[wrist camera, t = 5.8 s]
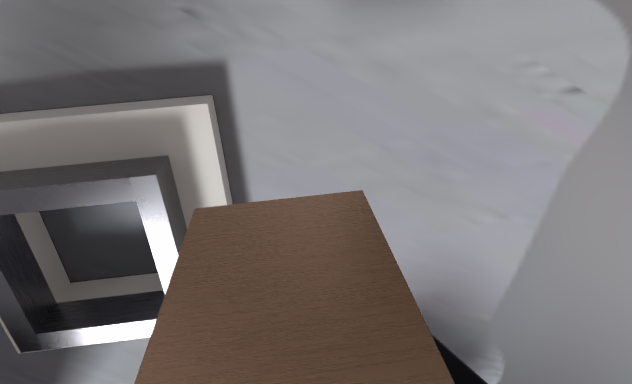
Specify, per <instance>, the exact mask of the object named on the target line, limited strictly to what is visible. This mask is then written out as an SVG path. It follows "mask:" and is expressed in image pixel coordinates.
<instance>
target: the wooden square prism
mask: <svg viewBox="0 0 632 384" xmlns="http://www.w3.org/2000/svg"><path fill="white" fill-rule="evenodd" d="M134 384H455V383H454V381H453V379H452V377H451V375H450V373H449V371H448V368H447V366H446V364H445V362H444V360H443V358H442V356H441V354H440V352H439V350H438V348H437V345H436V343H435V341H434V339H433V337H432V335H431V333H430V331H429V329H428V327H427V325H426V322H425V320H424V318H423V316H422V314H421V312H420V310H419V308H418V306H417V304H416V302H415V299H414V297H413V295H412V293H411V291H410V289H409V287H408V285H407V283H406V281H405V279H404V276H403V274H402V272H401V270H400V268H399V266H398V264H397V262H396V260H395V258H394V256H393V253H392V251H391V249H390V247H389V245H388V243H387V241H386V239H385V237H384V235H383V233H382V230H381V228H380V226H379V224H378V222H377V220H376V218H375V216H374V214H373V212H372V210H371V207H370V205H369V203H368V201H367V199H366V197H365V195H364V193H363V191H362V190H360V191H351V192H342V193H333V194H324V195H314V196H305V197H296V198H287V199H278V200H269V201H260V202H250V203H241V204H232V205H223V206H214V207H205V208H195V209H194V212H193V215H192V218H191V221H190V223H189V226H188V229H187V232H186V235H185V238H184V241H183V244H182V247H181V250H180V253H179V255H178V258H177V261H176V264H175V267H174V270H173V273H172V276H171V279H170V282H169V285H168V287H167V290H166V293H165V296H164V299H163V302H162V305H161V308H160V311H159V314H158V317H157V319H156V322H155V325H154V328H153V331H152V334H151V337H150V340H149V343H148V346H147V349H146V351H145V354H144V357H143V360H142V363H141V366H140V369H139V372H138V375H137V378H136V381H135V383H134Z"/></svg>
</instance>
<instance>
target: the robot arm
mask: <svg viewBox="0 0 632 384" xmlns="http://www.w3.org/2000/svg"><path fill="white" fill-rule="evenodd" d="M431 335H432V334H431ZM432 337H433V339H434V341H435V343H436V345H437V348H438V350H439V352H440V354H441V356H442V358H443V360H444V362H445V364H446V366H447V368H448V371H449V373H450V375H451V377H452V379H453V381H454V383H455V384H488V383H486V382H485V381H484V380H483V379H482V378H481V377H480V376H479V375H477V374H476V373H475V372H474V371H473V370H472V369H471V368H469V367H468V366H467V365H466V364H465V363H464V362H463V361H462V360H460V359H459V358H458V357H457V356H456V355H455V354H454V353H452V352H451V351H450V350H449V349H448V348H447V347H446V346H445V345H443V344H442V343H441V342H440V341H439V340H438V339H437V338H435V337H434V336H433V335H432Z"/></svg>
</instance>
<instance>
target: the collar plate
mask: <svg viewBox="0 0 632 384" xmlns="http://www.w3.org/2000/svg"><path fill="white" fill-rule="evenodd" d="M133 201H136V203H137V206H138V209H139V212H140V215H141V219H142V222H143V225H144V228H145V232H146V235H147V238H148V241H149V244H150V248H151V251H152V254H153V257H154V260H155V264H156V267H157V270H158V273H152V274H143V275H134V276H126V277H117V278H108V279H99V280H91V281H82V282H73V283H70V280H69V278H68V276H67V274H66V271H65V269H64V267H63V265H62V262H61V260H60V258H59V256H58V253H57V251H56V249H55V247H54V244H53V242H52V240H51V238H50V235H49V233H48V231H47V229H46V226H45V224H44V222H43V220H42V217H41V215H40V213H39V211H46V210H56V209H66V208H75V207H85V206H94V205H104V204H114V203H123V202H133ZM232 204H233V203H232V197H231V192H230V187H229V181H228V176H227V171H226V165H225V160H224V154H223V149H222V144H221V138H220V133H219V127H218V122H217V117H216V111H215V106H214V101H213V95H205V96H194V97H182V98H171V99H160V100H149V101H138V102H127V103H116V104H105V105H93V106H82V107H71V108H60V109H49V110H38V111H27V112H16V113H4V114H0V323H1V325H2V327H3V329H4V330H5V332H6V334H7V336H8V337H9V339H10V341H11V342H12V344H13V346H14V348H15V349H16V351H17V353H18V354H21V353H29V352H37V351H45V350H53V349H61V348H70V347H78V346H86V345H94V344H102V343H110V342H118V341H126V340H134V339H142V338H150V337H151V334H152V331H153V328H154V325H155V322H156V319H157V317H158V314H159V311H160V308H161V305H162V302H163V299H164V296H165V293H166V290H167V287H168V285H169V282H170V279H171V276H172V273H173V270H174V267H175V264H176V261H177V258H178V255H179V253H180V250H181V247H182V244H183V241H184V238H185V235H186V232H187V229H188V226H189V223H190V221H191V218H192V215H193V212H194V209H195V208H205V207H214V206H223V205H232Z"/></svg>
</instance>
